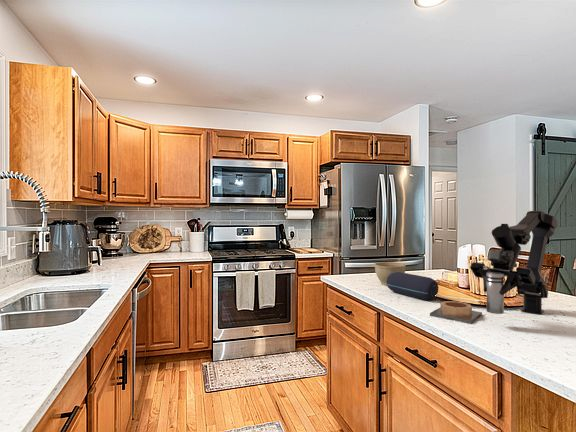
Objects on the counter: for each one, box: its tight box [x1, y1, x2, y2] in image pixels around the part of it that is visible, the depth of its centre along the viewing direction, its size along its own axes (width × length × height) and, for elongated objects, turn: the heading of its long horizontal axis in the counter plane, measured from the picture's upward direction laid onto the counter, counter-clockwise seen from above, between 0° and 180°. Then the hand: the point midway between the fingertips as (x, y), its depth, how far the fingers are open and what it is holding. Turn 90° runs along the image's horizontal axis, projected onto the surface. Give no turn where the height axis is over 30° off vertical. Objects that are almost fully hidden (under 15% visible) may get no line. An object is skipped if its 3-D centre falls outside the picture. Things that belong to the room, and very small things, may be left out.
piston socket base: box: [429, 300, 483, 324], centre depth 130 cm, size 14×14×4 cm
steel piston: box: [485, 272, 505, 315], centre depth 116 cm, size 5×5×13 cm
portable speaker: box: [386, 272, 439, 301], centre depth 160 cm, size 25×10×10 cm, turn 30°
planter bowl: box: [374, 261, 407, 286], centre depth 187 cm, size 16×16×11 cm
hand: (493, 292), depth 115 cm, fingers closed on steel piston, 5 cm apart
